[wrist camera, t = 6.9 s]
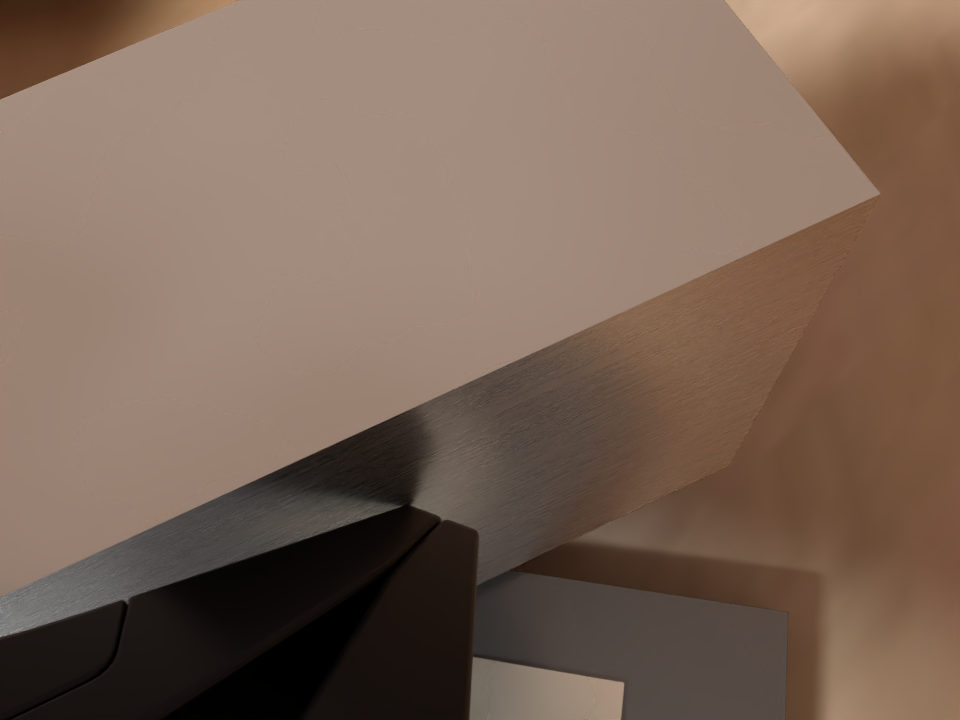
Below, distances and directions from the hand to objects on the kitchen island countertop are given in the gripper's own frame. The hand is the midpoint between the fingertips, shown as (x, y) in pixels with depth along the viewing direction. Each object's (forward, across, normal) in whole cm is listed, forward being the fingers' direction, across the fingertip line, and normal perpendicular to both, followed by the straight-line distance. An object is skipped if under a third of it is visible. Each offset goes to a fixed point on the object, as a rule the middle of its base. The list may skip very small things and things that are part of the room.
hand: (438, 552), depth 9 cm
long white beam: (+4, +5, +4) cm, 7 cm away
